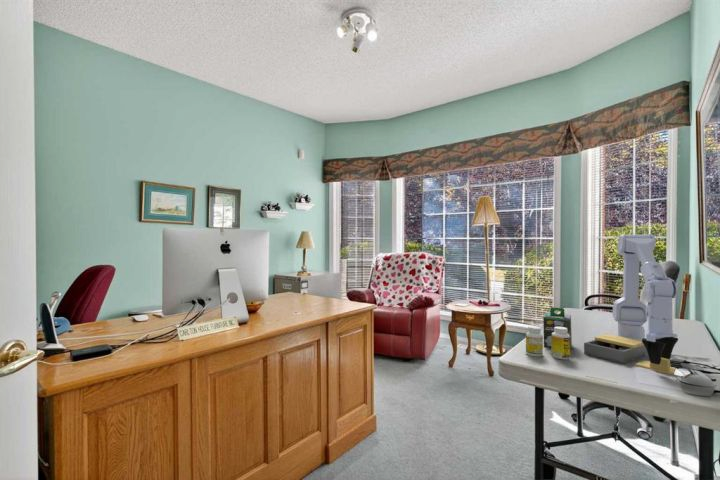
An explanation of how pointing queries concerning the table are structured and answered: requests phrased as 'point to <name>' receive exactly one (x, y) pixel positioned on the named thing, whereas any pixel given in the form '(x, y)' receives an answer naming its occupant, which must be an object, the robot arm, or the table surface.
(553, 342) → the supplement bottle
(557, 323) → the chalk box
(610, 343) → the parts tub
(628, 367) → the table surface
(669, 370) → the lid end segment
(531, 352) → the supplement bottle
